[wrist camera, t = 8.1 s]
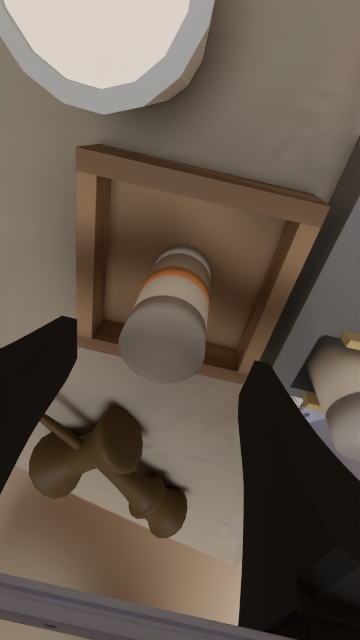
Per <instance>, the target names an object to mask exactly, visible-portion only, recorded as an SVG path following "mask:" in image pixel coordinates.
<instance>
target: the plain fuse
mask: <svg viewBox="0 0 360 640" xmlns="http://www.w3.org/2000/svg"><path fill="white" fill-rule="evenodd" d="M305 364H306V367H307V370H308V373H309V375H310V378H311V381H312V384H313V387H314V389H315V392H316V395H317V398H318V401H319V403H320V406H321V409H322V412H323V415H324V417H325V420H326V423H327V426H328V429H329V431H330V434H331V437H332V440H333V442H334V445H335V448H336V449H337V451H338V452H339V453H340V454H342V455H343V456H345V457H347V458H350V459H354V460H358V461H360V350H356V349H352V348H347V347H346V346H345V344H344V343H343V341H342V339H341V338H337V337H333V336H329V335H324V334H321V335H320V336H319V338H318V340H317V342H316V343H315V345H314V347H313V348H312V350H311V352H310V354H309V355H308V357H307V359H306V360H305Z"/></svg>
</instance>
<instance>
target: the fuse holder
mask: <svg viewBox="0 0 360 640" xmlns="http://www.w3.org/2000/svg"><path fill="white" fill-rule="evenodd" d="M329 206H330V209H329V211H328V213H327V215H326V218H325V220H324V222H323V224H322V226H321V228H320V231H319V233H318V235H317V237H316V239H315V241H314V244H313V246H312V248H311V250H310V252H309V254H308V256H307V259H306V261H305V263H304V265H303V267H302V269H301V272H300V274H299V276H298V278H297V280H296V282H295V284H294V287H293V289H292V291H291V293H290V295H289V297H288V300H287V302H286V304H285V306H284V308H283V310H282V313H281V315H280V317H279V319H278V321H277V323H276V325H275V328H274V330H273V332H272V334H271V336H270V338H269V341H268V343H267V345H266V347H265V349H264V351H263V353H262V356H261V358H260V360H259V361H260V362H264V363H269V364H270V365H271V367H272V368H273V370H274V371H275V373H276V374H277V376H278V378H279V379H280V381H281V383H282V384H283V386H284V387H285V389H286V390H287V392H288V394H289V395H291V396H296V397H300V398H303V402H304V405H305V408H306V409H311V410H315V411H319V412H322V409H321V406H320V403H319V401H318V398H317V395H316V392H315V389H314V387H313V384H312V381H311V378H310V375H309V373H308V370H307V367H306V364H305V363H304V362H305V360H306V359H307V357H308V355H309V354H310V352H311V350H312V348H313V347H314V345H315V343H316V342H317V340H318V338H319V336H320V335H321V334H324V335H329V336H333V337H337V338H341V339H342V341H343V343H344V344H345V346H346V347H347V348H352V349H356V350H360V137H359V140H358V142H357V144H356V146H355V148H354V150H353V153H352V155H351V157H350V159H349V161H348V164H347V166H346V168H345V170H344V172H343V174H342V177H341V179H340V181H339V183H338V185H337V188H336V190H335V192H334V194H333V196H332V198H331V201H330V203H329Z"/></svg>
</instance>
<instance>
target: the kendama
mask: <svg viewBox="0 0 360 640" xmlns="http://www.w3.org/2000/svg"><path fill="white" fill-rule="evenodd" d="M40 422H41V423H42V424H43V425H45V426H46V427H47V428H48V429H49V430H51V431H52V432H51V433H49V434H48V435H46V436H44V437H43V438H41V439H40V441H39V442H38V443H37V445H36V446H35V447H34V449H33V452H32V455H31V458H30V461H29V476H30V478H31V480H32V483H33V485H34V487H35V488H36V489H37V490H38V491H39V492H41V493H42V494H43V495H45V496H48V497H51V498H53V499H54V498H60V497H66V496H67V495H68V494H69V493H70V492H71V491H72V490H73V489H74V488H75V487H76V485H77V483H78V482H79V480H80V478H81V476H82V474H83V473H85V472H87V471H89V470H92V469H96V468H97V469H98V470H99V471H101V472H102V473H103V474H104V475H105V476H106V477H107V478H108V479H109V480H110V481H111V482H112V483H113V484H114V485H115V486H116V488H117V489H118V490H119V491H120V492H121V493H122V494H123V495H124V497H125V498H126V499H127V501H128V502H129V510H130V514H131V515H132V516H133V517H135V518H137V519H144V518H145V519H146V520H147V521H148V524H149V527H150V531H151V533H152V534H153V535H155V536H156V537H158V538H168V537H170V536H172V535H174V534H175V533H176V532H177V531H178V530H179V529H180V528H181V527H182V525H183V523H184V521H185V518H186V513H187V498H186V496H185V494H184V492H183V491H182V490H180V489H177V488H171V489H167V488H165V487H164V483H163V481H162V479H161V477H159V476H157V475H151V476H143V475H140V474H138V473H136V472H134V471H133V470H134V469H135V468H136V467H137V466H138V464H139V461H140V458H141V455H142V447H143V441H142V434H141V430H140V428H139V426H138V424H137V422H136V421H135V420H134V418H133V417H132V416H131V415H130V414H129V413H127V412H126V411H125V410H123V409H121V408H111V409H109V410H108V411H106V412H105V413H104V414H103V415H102V417H101V418H100V420H99V422H98V424H97V426H96V427H95V429H94V430H93V431H92V432H90V433H88V434H86V435H83V436H81V437H78V436H76V435H75V434H74V433H72V432H71V431H69V430H68V429H67V428H65V427H64V426H62V425H61V424H60V423H58V422H57V421H55V420H54V419H52V418H51V417H49V416H48V415H46V414H44V415H43V416H42V418H41V419H40Z"/></svg>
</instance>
